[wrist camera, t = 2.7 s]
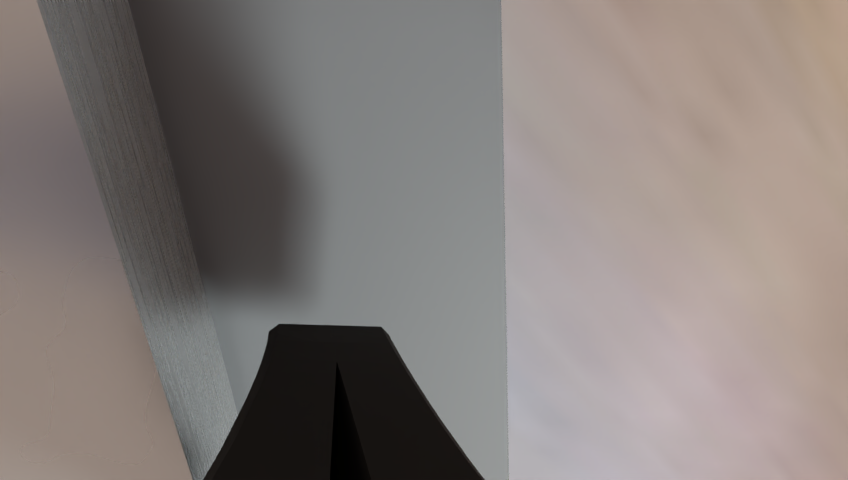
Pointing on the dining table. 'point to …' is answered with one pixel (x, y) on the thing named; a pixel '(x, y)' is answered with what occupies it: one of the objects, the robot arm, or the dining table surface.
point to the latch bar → (97, 262)
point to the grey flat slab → (346, 182)
